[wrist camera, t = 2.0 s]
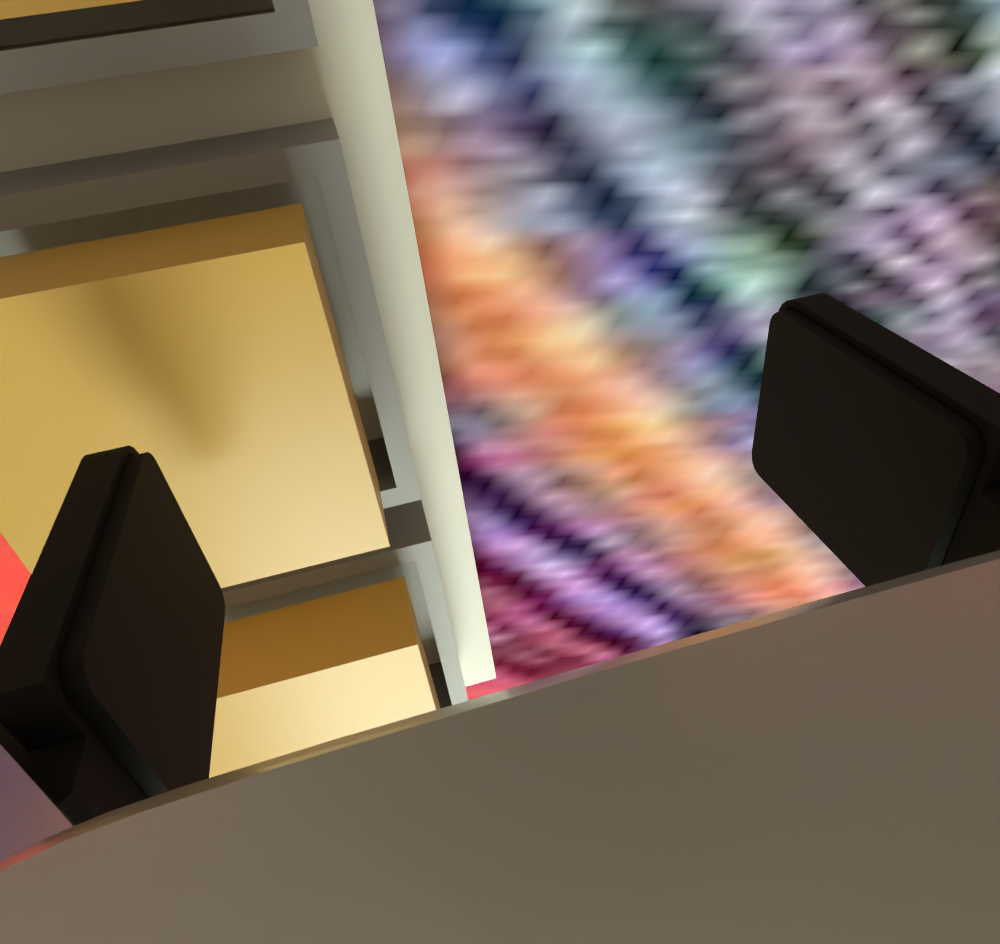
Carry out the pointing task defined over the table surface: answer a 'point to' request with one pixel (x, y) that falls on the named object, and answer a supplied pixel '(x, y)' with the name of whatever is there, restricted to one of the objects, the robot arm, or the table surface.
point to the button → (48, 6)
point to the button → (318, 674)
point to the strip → (253, 187)
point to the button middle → (189, 389)
